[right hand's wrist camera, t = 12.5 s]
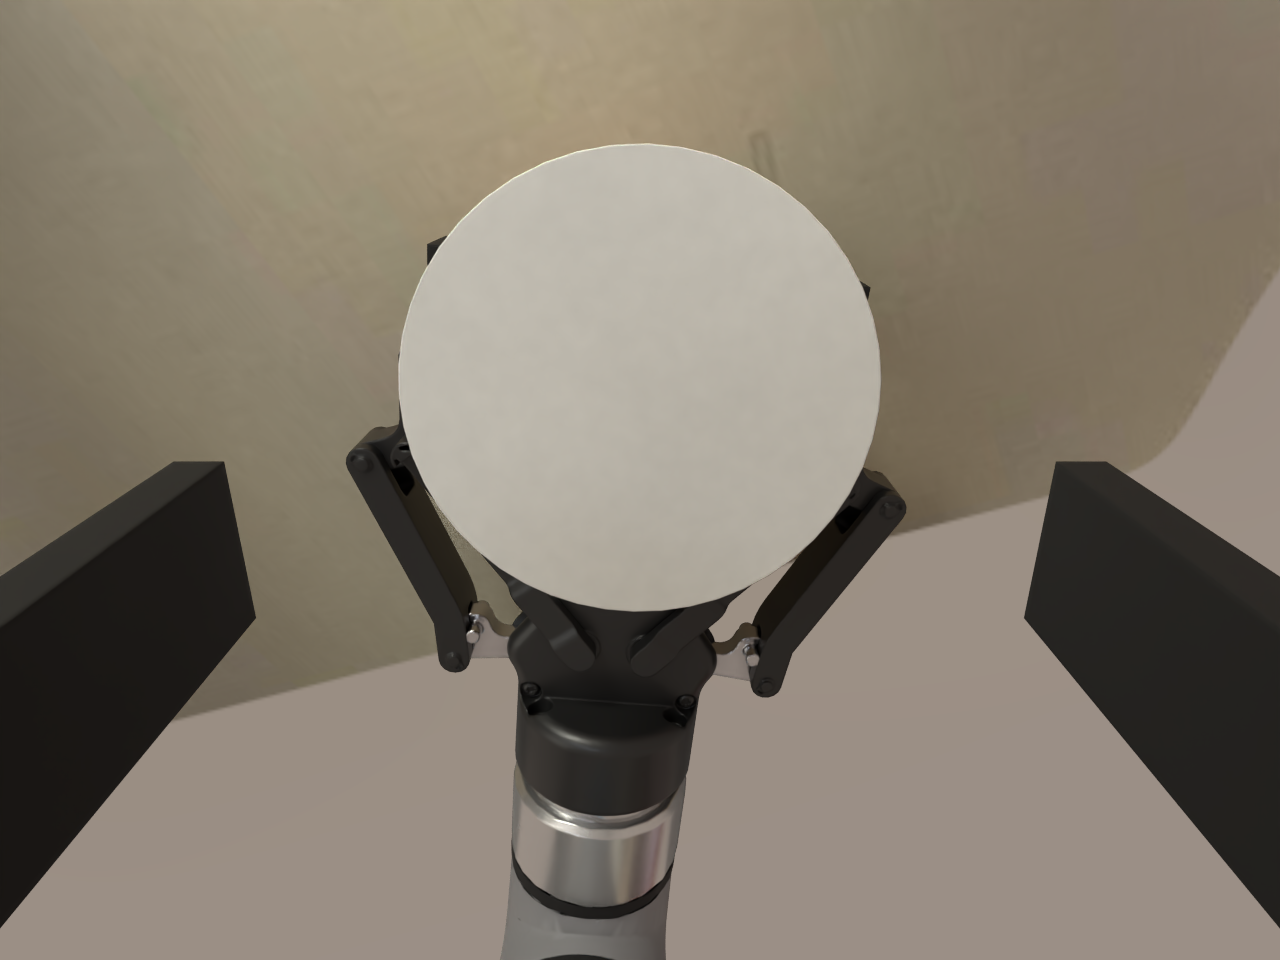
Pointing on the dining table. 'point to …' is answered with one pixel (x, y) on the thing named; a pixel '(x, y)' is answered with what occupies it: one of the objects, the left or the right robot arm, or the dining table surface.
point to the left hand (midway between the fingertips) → (650, 259)
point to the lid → (639, 377)
